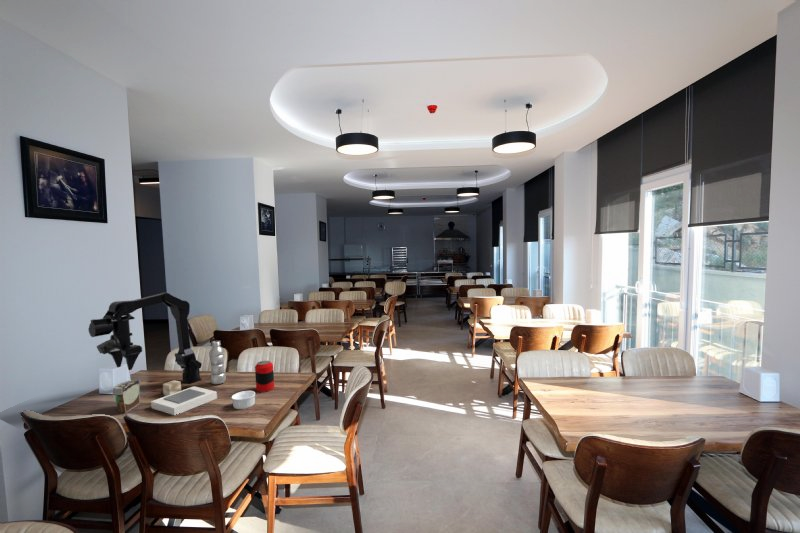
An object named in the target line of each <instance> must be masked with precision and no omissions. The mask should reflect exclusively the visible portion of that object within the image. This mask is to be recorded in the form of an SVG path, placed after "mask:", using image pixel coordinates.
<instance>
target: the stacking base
mask: <svg viewBox="0 0 800 533" xmlns="http://www.w3.org/2000/svg"><path fill="white" fill-rule="evenodd" d="M216 399H218V391H215V390H211V389H207V388H202V387H198V386H191V387H188V388H186V389H183V390H182V389H181V391H179V392H176V393H173V394H171V395H168V396H166V395H164V396H163V397H160V398H157V399H156V398H155V399H154V400H151V401H150V406H151V409H152V410H156V411H159V412H162V413H167V414H168V415H172V416H177V415H179V413H180V414H182V413H185V412H187V411H190V410H191V409H195V408H196V407H199V406H202V405H204V404H206V403H209V402H211V401H214V400H216ZM176 414H177V415H176Z"/></svg>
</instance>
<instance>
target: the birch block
mask: <svg viewBox="0 0 800 533" xmlns="http://www.w3.org/2000/svg"><path fill="white" fill-rule="evenodd" d="M181 383H182V381H178V380H171V381H168V382H167V381H166V382H165V383H162V392H163V396H168V395H171V394H173V393H176V392H179V391H182V384H181Z"/></svg>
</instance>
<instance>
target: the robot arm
mask: <svg viewBox="0 0 800 533" xmlns="http://www.w3.org/2000/svg"><path fill="white" fill-rule="evenodd" d="M161 303H162V304H164V305H165V306H166V307H168V308H169V309H170V313H171V315H172V317H173V318H174V319H175V327H176V334H177V342H178V351H177V352H175V353H174V357H175V361H174V362H176V364H177V365H178V366H179V367H180V369H182V380H181V383H185V384H192V383H195V382H199V381H202V380H203V378H202V377H201V373H200V369H201V368H202V362H200V361H199V360H197V357H196V354H195V352H194V350H193V349H192V346H191V341H190V332H189V322H188V317H189V314H190V308H191V305H190V303H189V302H188V301H187V300H183V299H181V298H178V297H176V296H174V295H172V294H170V293H169V292H161V293H158V294H153V295H149V296H145V297H141V298H138V299H137V298H136V299H132V300H117V301H113V302H111V303H110V305H109V306H108V309H107V311H106V313H105V314H104V315H103V317H102V318H98V319H97V318H96V319H95V318H94V319H90V323H89V326H88V333H89V336H90V337H91V338H95V337H100V336H101V337H102V336H105V335H110V334H111V333H112V334H111V335H110V337H109V338H110V339H108V340H106V341H103V342H101V343H100V344H98V345H96V349H97V350H98V353H99V354H103V355H106V354H108V355H109V356H111V357H112V359H113V361H114V363H115V366H116V368H121V366H122V363H123V358H124V359H125V361H126V366H127V369H128V371H132V370H133V367H134V366H135V363H136V361H137V359H138V358H139V355H140V354H141V353H142V352H143V346H141V345H138V344H134V342H131V341H132V339H131V336H133V332H131V331H130V330H131V329H130V327H131V326H130V320H135V319H136V318H135V317H134V316H133V315H131V314H132V313H134V312H136V311H137V310H139V309H143V308H147V307H149V306H155V305H157V304H161Z"/></svg>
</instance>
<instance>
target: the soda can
mask: <svg viewBox="0 0 800 533" xmlns="http://www.w3.org/2000/svg"><path fill="white" fill-rule="evenodd" d="M254 372H255V373H254V374H255V389H256V390H255V391H257V392H259V393H265V392H271V391H272V390H274V388H275V379H274V378H275V377H274V375H275V374H274V364H273V363H272V361H271V360H262V361H258V362H257V363H256V364H255V366H254Z"/></svg>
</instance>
